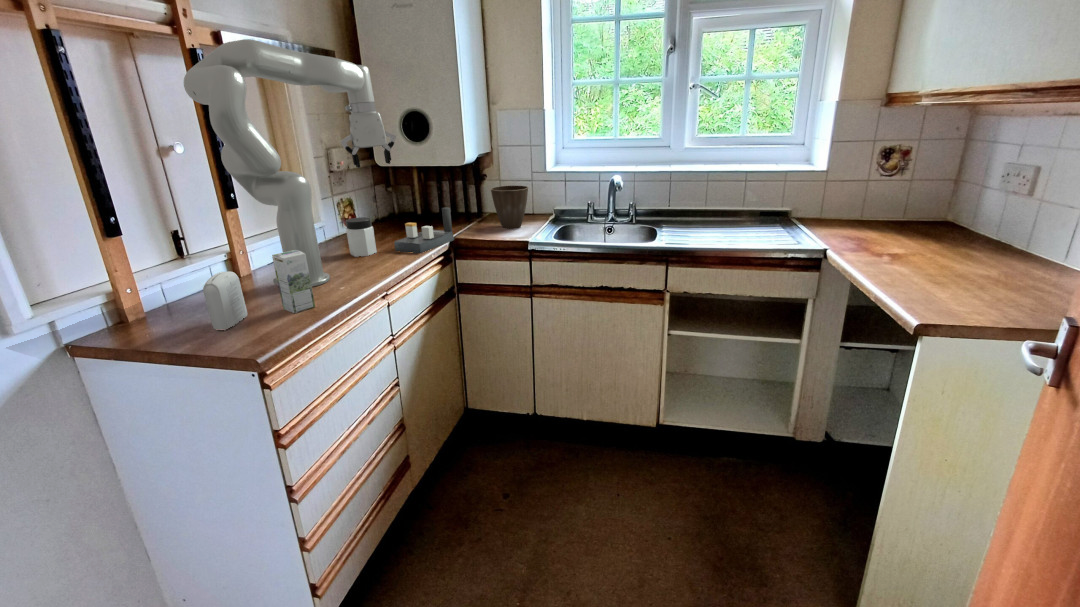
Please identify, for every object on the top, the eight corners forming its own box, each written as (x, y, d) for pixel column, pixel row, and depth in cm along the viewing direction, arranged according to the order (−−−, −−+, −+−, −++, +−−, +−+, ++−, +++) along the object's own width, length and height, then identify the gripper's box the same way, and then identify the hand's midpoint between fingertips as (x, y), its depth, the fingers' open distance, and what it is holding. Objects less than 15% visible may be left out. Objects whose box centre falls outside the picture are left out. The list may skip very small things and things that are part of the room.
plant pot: (490, 225, 218) (487, 186, 213) (525, 222, 222) (523, 184, 216) (497, 232, 205) (494, 191, 199) (533, 229, 208) (532, 188, 203)
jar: (348, 257, 178) (342, 222, 174) (352, 251, 185) (347, 218, 181) (375, 255, 179) (369, 221, 175) (378, 249, 186) (373, 216, 182)
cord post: (450, 241, 194) (447, 209, 190) (441, 240, 196) (438, 208, 192) (456, 239, 198) (453, 207, 193) (447, 238, 199) (444, 206, 195)
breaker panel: (421, 253, 179) (420, 243, 178) (395, 251, 183) (394, 241, 182) (454, 240, 196) (453, 231, 194) (429, 238, 200) (428, 229, 199)
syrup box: (304, 303, 136) (293, 248, 131) (316, 307, 132) (305, 252, 127) (283, 309, 132) (270, 254, 127) (294, 314, 128) (282, 257, 123)
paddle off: (429, 239, 183) (428, 227, 181) (422, 238, 184) (421, 227, 182) (433, 237, 185) (432, 226, 183) (426, 236, 186) (425, 225, 184)
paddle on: (413, 237, 185) (411, 224, 184) (406, 237, 187) (404, 223, 185) (417, 236, 187) (416, 223, 186) (411, 235, 189) (409, 222, 187)
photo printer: (233, 315, 129) (220, 267, 125) (250, 314, 129) (238, 266, 125) (210, 332, 120) (196, 281, 115) (230, 331, 120) (216, 280, 115)
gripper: (336, 111, 155) (348, 170, 162) (394, 106, 163) (402, 162, 169) (331, 111, 161) (343, 167, 168) (387, 106, 169) (396, 161, 175)
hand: (373, 165), depth 168 cm, fingers open, 9 cm apart
